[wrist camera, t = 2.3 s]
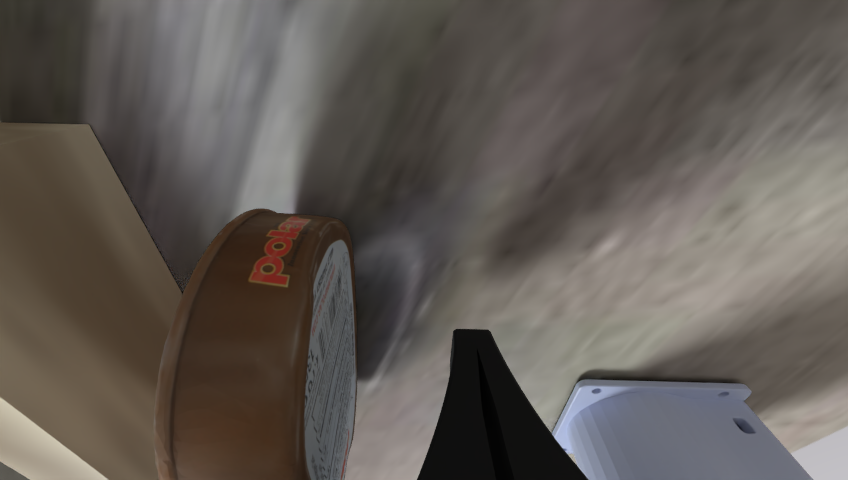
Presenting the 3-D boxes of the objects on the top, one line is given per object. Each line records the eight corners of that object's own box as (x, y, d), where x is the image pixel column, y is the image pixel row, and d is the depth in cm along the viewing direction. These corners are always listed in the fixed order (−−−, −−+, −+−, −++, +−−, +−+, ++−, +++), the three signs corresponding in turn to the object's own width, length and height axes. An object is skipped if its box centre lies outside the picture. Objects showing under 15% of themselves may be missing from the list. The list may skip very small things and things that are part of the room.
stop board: (88, 124, 10) (-254, 203, 5) (271, 454, 23) (226, 569, 18) (-1, 122, 10) (-432, 198, 5) (231, 453, 23) (176, 568, 18)
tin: (281, 167, 11) (1, 396, 4) (368, 176, 11) (257, 414, 4) (317, 399, 19) (251, 610, 12) (368, 403, 19) (332, 614, 12)
